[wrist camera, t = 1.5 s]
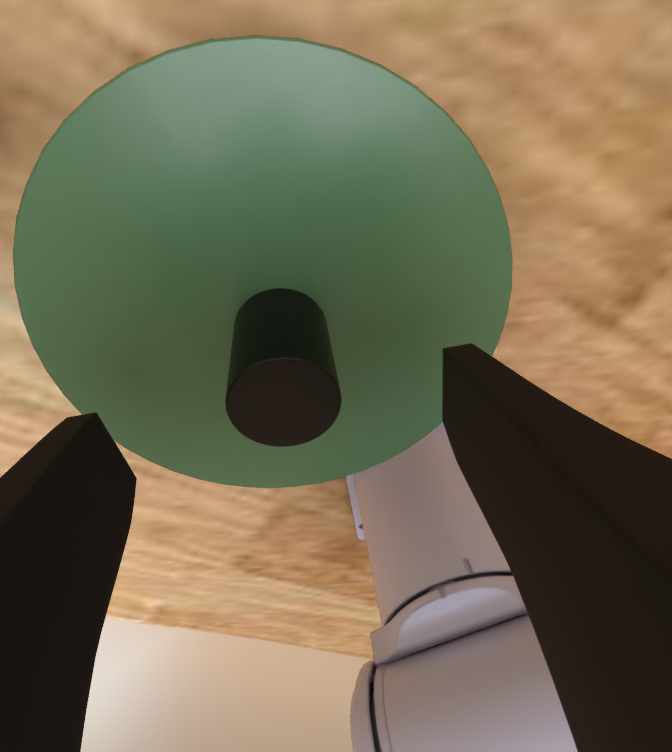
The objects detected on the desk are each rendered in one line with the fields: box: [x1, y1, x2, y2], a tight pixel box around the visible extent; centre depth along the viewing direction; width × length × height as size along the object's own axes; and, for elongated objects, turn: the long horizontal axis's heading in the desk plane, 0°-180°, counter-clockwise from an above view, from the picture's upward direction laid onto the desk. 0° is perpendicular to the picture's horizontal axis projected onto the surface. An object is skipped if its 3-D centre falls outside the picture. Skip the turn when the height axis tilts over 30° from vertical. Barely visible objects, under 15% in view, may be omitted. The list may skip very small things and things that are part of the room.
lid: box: [13, 35, 512, 488], centre depth 12 cm, size 13×13×4 cm
